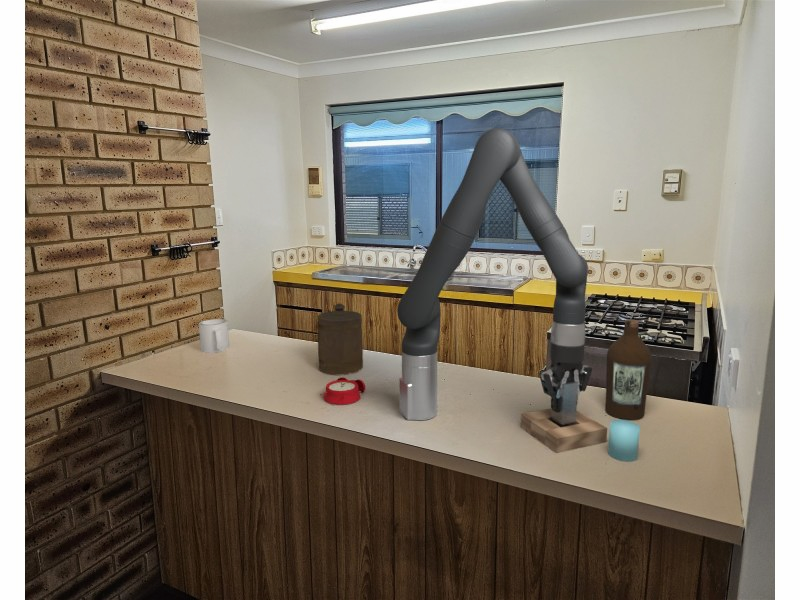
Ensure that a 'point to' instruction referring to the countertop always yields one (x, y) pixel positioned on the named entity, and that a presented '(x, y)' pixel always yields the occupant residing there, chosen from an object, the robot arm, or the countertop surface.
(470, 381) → the countertop surface
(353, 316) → the wooden container
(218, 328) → the mug
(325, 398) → the alarm clock
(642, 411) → the brown bottle
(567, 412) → the square peg
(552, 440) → the socket block
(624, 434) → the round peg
